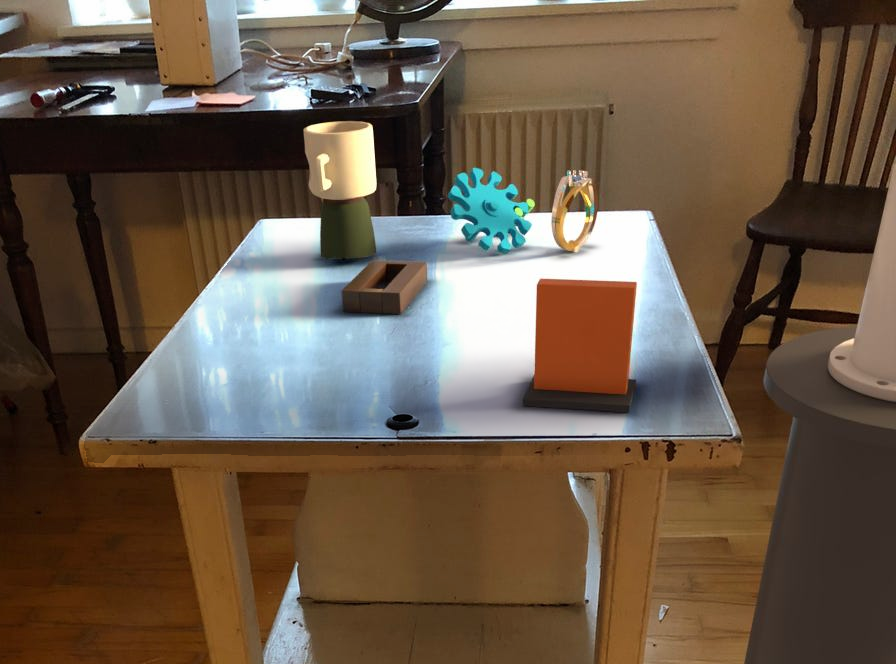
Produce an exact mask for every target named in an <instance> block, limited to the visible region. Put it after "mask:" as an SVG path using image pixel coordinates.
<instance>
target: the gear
mask: <svg viewBox="0 0 896 664" xmlns="http://www.w3.org/2000/svg"><path fill="white" fill-rule="evenodd" d="M483 176H484V171H483V169H481V168H478V167H473V168H472V169H471V170H470V172H469V174H467V173H466V172H461V173H459V174H457V175H456V176H455V178H454V179H453V182H454V185H453V186H452V188H451V189H450V190H449V192H448V193H447V198H448V200H449V201H452V202H455V203H456V204H455V203H454V204H453V206H452V207H451V208H450V218H451V219H452V220H453V221H458V220H464V221H468V222H466V223H464V224H463V226H462V227H461V229H460V231H461V233H462V235H463V236H464V239H465V241H467V242H468V243H473V242H474V241H475V239H476V238H477V236H478V235H479V234H480V233H483V234H485V235H484V236H482V237H481V238H480V240H479V241H478V245H477V246H478V247H479V248H480V249H482V250H483V251H485V252H488V251H489V250H490V249H491V247H492V246H493V243H494V242H493V241H494V240H493V239H494V237H497V238H498V239H499V240H500V243H499V244H498V245H497V247H496V250H497V252H498V253H499V254H502V255H507V254H508V253H509V252H510V251H511V250H512V247H513V248H514V249H519V248H521V247H523V246H524V244H525V243H526V241H527V239H526V237H525V236H526V234H528V232H530V230H531V228H532V225H533V224H532V223H531V222H530V221H529V220H526V219H525V217H526V215H528V214H529V213H530V212H531V211H532V210H533V209H534V207H535V205H536V204H535V201H534V199H532V198H527V199H526V201H521V202H515V201H512V200H514V199H515V198H516V197H517V196H518V194H519V191H518V189H517V187H516V185H515V184H513V183H510V184H509V185H508V186H507V187H506V188H505V189H497V186H499V184H500V183H501V181H502V180H503V177H502V176H501V175H500V174H499V173H498V172H496V171H494V170H493V171H492V172H491V173H490V174H489V176H488V177H487V184H486V185H484V184H482V182H481V179H482V178H483ZM469 178H470V180H471V182H472V187H471V186H470V185H469ZM463 194H464V195H463ZM508 235H510V236H511V242H510V240H509V238H508Z"/></svg>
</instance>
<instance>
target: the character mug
mask: <svg viewBox="0 0 896 664" xmlns="http://www.w3.org/2000/svg"><path fill="white" fill-rule="evenodd" d="M303 140H304V153H305V156H306V159H307V162H308V165H309V167H308V168H309V176H308V177H309V178H308V188H309V190H310V192H311V194H312V195H314V196H316V197H318V198H320V200H321V202H322V204H321V208H320V227H319V229H320V232H319V249H320V250H319V253H320V257H321V258H323V259H325V260H331V259H340V261H341V263H345V262H347V259H360V258H368V257H372V256H374V255H375V254H376V253H377V252H378V251H377V243H376V237H375V231H374V225H373V220H372V217H371V210H370V206H369V203H368V201H367V199H366V198H365V197H366V196H368V195H372V194H373V193H375V191H377V173H376V172H377V171H376V158H375V157H376V156H375V143H374V142H375V141H374V130H373V124H371V123H370V122H365V121H355V120H346V121H344V120H343V121H329V122H322V123H316V124H311V125H308V126H306V127H304V128H303Z"/></svg>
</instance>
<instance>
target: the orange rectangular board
mask: <svg viewBox="0 0 896 664" xmlns="http://www.w3.org/2000/svg"><path fill="white" fill-rule="evenodd" d="M637 285H638V283H637V281H623V280H622V281H621V280H597V279H596V280H592V279H565V278H539V280H538V281H537V283H536V297H535V298H536V299H535V300H536V301H535V335H534V337H535V339H534V340H535V342H534V371H533V376H534V389H541V390H557V391H573V392H589V393H605V394H620V395H626V392H627V388H628V379H630V377H629V376H630V366H631V355H632V343H633V342H632V341H633V332H634V320H635V308H636V298H637Z"/></svg>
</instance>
